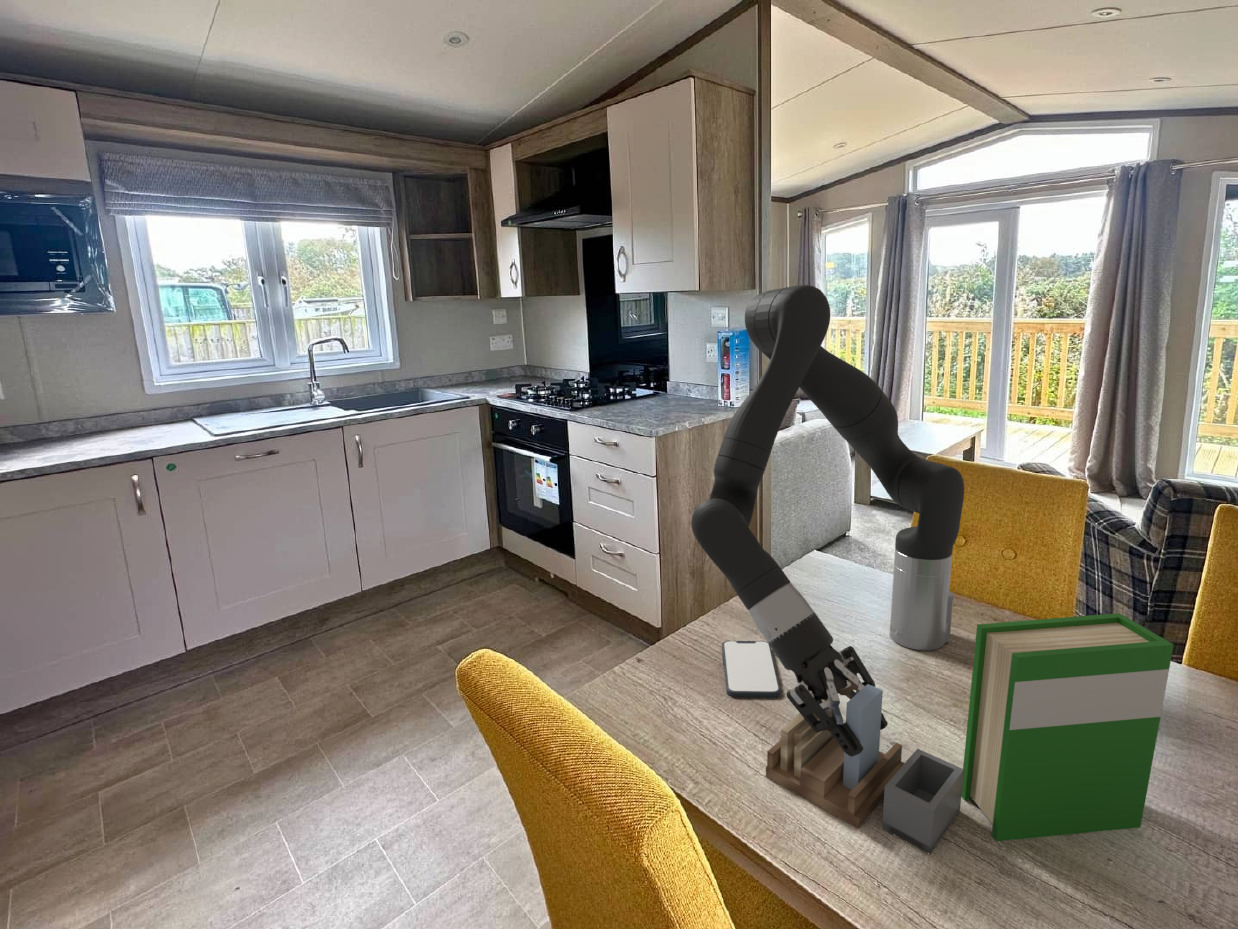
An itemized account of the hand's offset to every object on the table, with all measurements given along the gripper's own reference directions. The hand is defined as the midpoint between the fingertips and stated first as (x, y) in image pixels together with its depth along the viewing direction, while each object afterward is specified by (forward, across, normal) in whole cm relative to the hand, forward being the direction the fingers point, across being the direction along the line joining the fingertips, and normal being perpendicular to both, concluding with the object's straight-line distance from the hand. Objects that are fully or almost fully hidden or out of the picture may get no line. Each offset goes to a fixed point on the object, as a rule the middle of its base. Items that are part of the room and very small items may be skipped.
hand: (869, 740), depth 84 cm
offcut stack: (-1, 0, +10) cm, 10 cm away
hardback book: (+18, +12, -7) cm, 22 cm away
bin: (+10, 0, 0) cm, 10 cm away
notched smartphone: (-14, +13, +25) cm, 32 cm away
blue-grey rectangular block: (+4, 0, +5) cm, 6 cm away
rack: (+2, 0, +8) cm, 9 cm away
